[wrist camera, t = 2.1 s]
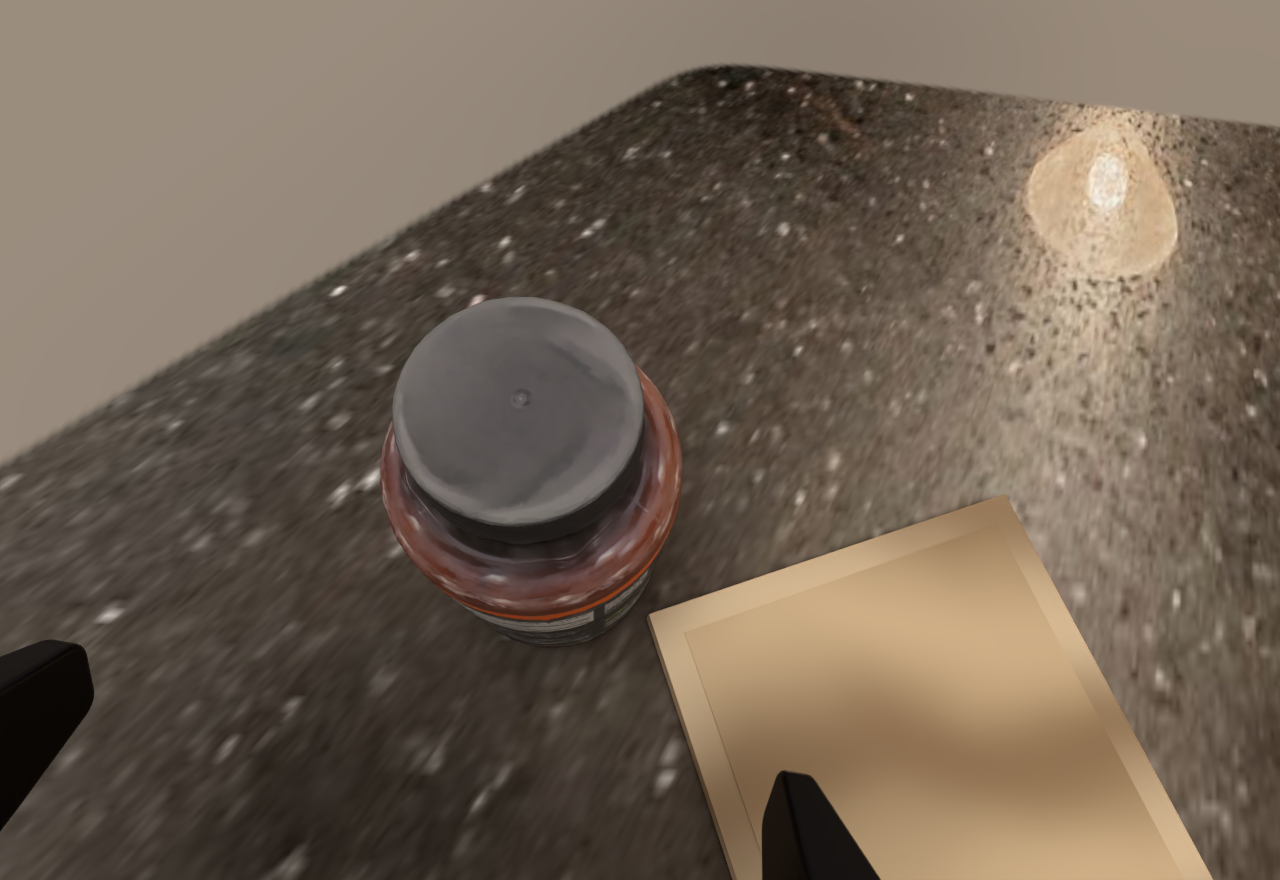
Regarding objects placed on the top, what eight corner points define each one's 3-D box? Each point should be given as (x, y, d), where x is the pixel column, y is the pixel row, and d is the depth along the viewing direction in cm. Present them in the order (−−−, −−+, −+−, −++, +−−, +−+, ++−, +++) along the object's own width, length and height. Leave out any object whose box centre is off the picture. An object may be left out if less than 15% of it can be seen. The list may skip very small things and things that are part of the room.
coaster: (1200, 905, 19) (1234, 915, 18) (805, 1099, 17) (818, 1123, 16) (987, 502, 23) (1006, 493, 22) (646, 618, 21) (649, 613, 20)
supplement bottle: (504, 436, 23) (429, 195, 12) (676, 495, 22) (754, 301, 12) (425, 611, 20) (247, 505, 10) (614, 681, 20) (640, 646, 9)
